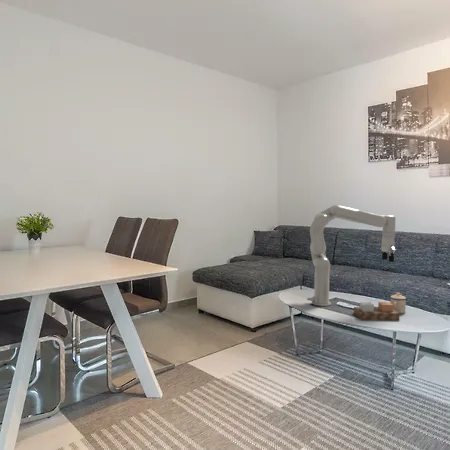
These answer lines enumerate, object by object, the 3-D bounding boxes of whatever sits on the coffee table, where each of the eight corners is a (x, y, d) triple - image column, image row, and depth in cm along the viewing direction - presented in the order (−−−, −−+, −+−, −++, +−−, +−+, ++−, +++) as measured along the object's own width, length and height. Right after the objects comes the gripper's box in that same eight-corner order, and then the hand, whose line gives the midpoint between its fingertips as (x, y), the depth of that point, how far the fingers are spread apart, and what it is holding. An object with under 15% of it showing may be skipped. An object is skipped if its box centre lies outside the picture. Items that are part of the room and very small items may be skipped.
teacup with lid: (392, 308, 246) (392, 290, 245) (407, 311, 240) (408, 292, 239) (386, 312, 237) (386, 294, 236) (402, 315, 231) (402, 296, 230)
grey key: (363, 313, 225) (363, 304, 225) (359, 310, 231) (360, 302, 231) (373, 313, 225) (373, 304, 225) (369, 310, 231) (370, 302, 231)
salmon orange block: (382, 313, 225) (382, 304, 225) (378, 310, 231) (378, 302, 231) (392, 313, 225) (392, 304, 225) (388, 310, 231) (388, 302, 231)
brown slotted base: (361, 320, 222) (361, 313, 222) (353, 313, 235) (353, 307, 235) (399, 320, 222) (399, 313, 222) (389, 313, 235) (389, 307, 235)
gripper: (377, 233, 260) (376, 258, 261) (388, 235, 242) (388, 262, 243) (388, 233, 260) (387, 258, 261) (400, 235, 242) (399, 262, 243)
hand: (387, 260), depth 252 cm, fingers open, 9 cm apart
